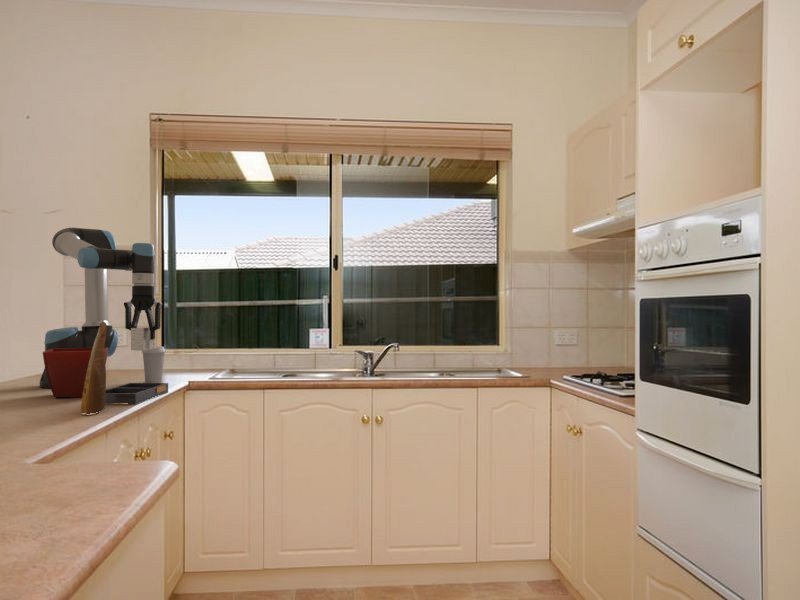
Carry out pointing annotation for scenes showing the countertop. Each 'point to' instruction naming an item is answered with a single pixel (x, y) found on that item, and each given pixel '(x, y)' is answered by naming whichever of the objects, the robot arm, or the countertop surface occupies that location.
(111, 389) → the tray
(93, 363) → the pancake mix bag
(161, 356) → the coffee cup
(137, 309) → the robot arm
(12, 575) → the countertop surface
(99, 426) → the countertop surface
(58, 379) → the plant pot
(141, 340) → the plain grey rectangular box
